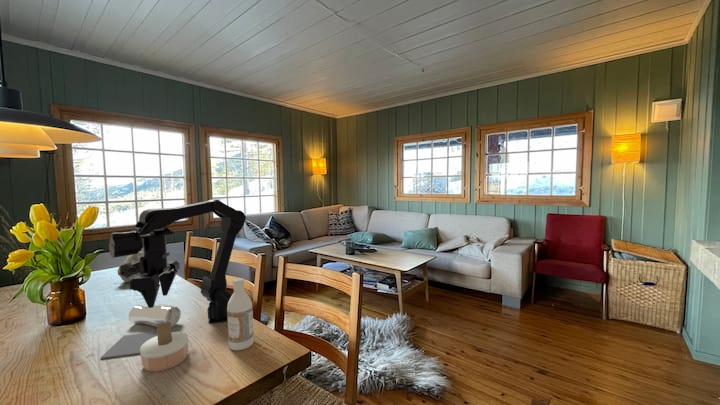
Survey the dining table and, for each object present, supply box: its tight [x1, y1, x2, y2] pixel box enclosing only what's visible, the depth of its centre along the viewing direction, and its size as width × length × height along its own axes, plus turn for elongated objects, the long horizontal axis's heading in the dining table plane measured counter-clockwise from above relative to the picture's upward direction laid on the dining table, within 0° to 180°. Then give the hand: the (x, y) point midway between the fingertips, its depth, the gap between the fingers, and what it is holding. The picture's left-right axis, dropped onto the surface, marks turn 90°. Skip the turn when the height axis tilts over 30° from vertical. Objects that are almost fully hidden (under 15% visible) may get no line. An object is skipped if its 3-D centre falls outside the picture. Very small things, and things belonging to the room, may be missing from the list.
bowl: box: [140, 343, 189, 373], centre depth 81 cm, size 10×10×4 cm
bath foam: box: [227, 277, 255, 352], centre depth 88 cm, size 7×7×20 cm
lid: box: [139, 322, 189, 358], centre depth 81 cm, size 11×11×6 cm
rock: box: [117, 250, 147, 283], centre depth 146 cm, size 15×18×15 cm
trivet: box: [100, 331, 157, 360], centre depth 89 cm, size 12×12×1 cm
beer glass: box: [127, 304, 182, 328], centre depth 101 cm, size 7×7×15 cm
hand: (158, 301), depth 90 cm, fingers open, 9 cm apart
